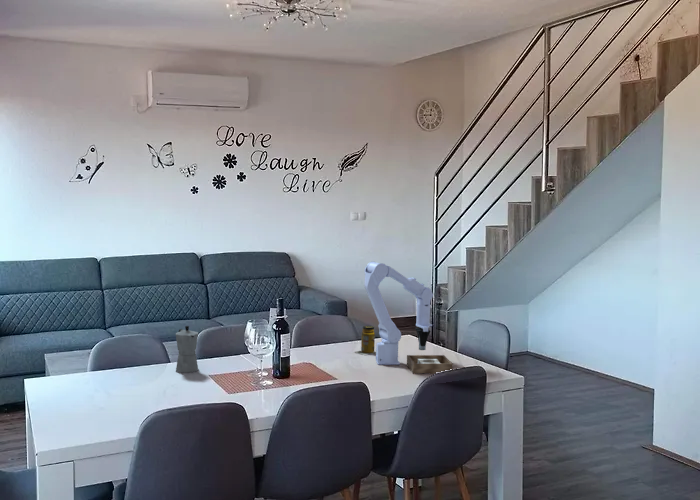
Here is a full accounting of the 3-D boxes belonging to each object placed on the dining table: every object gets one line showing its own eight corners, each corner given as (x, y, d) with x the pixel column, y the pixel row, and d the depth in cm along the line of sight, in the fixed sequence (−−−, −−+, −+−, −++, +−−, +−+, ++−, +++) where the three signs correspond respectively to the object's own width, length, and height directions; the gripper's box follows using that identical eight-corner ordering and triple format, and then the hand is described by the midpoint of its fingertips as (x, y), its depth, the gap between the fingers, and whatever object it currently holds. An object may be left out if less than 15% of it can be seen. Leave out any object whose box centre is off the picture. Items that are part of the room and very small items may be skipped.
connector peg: (419, 350, 306) (419, 334, 305) (418, 348, 309) (418, 332, 308) (426, 350, 306) (426, 334, 306) (424, 348, 309) (425, 333, 309)
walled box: (413, 373, 283) (413, 364, 283) (406, 364, 299) (407, 355, 299) (452, 373, 285) (452, 364, 284) (443, 364, 300) (444, 355, 300)
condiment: (378, 352, 321) (378, 326, 320) (365, 355, 315) (365, 328, 314) (367, 350, 326) (367, 324, 326) (353, 352, 321) (354, 326, 320)
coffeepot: (204, 372, 279) (204, 327, 278) (181, 375, 274) (181, 329, 273) (190, 364, 292) (190, 321, 291) (168, 367, 287) (168, 323, 286)
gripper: (435, 317, 299) (434, 348, 300) (429, 311, 314) (428, 341, 315) (419, 316, 299) (418, 348, 300) (413, 311, 313) (412, 341, 314)
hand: (422, 345), depth 307 cm, fingers closed on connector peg, 3 cm apart
